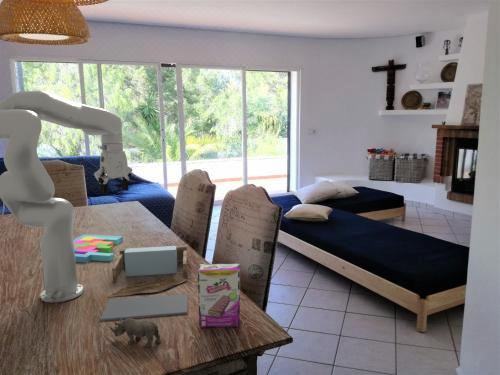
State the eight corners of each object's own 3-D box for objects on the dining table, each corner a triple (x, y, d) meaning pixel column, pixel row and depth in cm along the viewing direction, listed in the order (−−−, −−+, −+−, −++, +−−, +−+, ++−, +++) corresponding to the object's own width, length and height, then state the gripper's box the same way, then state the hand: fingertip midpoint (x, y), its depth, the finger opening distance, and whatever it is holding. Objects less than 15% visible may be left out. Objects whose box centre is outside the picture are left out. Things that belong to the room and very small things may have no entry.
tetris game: (43, 260, 160) (106, 265, 155) (42, 254, 160) (105, 258, 154) (85, 240, 187) (140, 243, 182) (84, 234, 187) (139, 237, 181)
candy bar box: (199, 328, 106) (196, 270, 103) (200, 319, 111) (198, 263, 108) (241, 327, 106) (239, 269, 104) (240, 318, 111) (239, 262, 109)
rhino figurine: (116, 333, 105) (114, 312, 104) (163, 340, 101) (162, 318, 100) (106, 341, 101) (104, 319, 100) (155, 349, 97) (154, 326, 96)
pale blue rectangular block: (177, 273, 145) (175, 249, 143) (125, 276, 142) (124, 252, 141) (177, 268, 149) (176, 245, 147) (128, 271, 147) (126, 248, 145)
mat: (187, 313, 114) (187, 311, 114) (100, 320, 111) (100, 318, 111) (187, 295, 126) (187, 293, 126) (109, 301, 123) (108, 299, 123)
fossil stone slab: (182, 276, 142) (182, 273, 142) (190, 288, 132) (190, 285, 132) (106, 290, 132) (106, 287, 132) (109, 303, 122) (109, 300, 122)
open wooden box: (186, 277, 141) (186, 261, 140) (112, 282, 137) (111, 265, 136) (187, 260, 157) (186, 245, 156) (121, 264, 154) (120, 249, 153)
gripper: (99, 149, 142) (103, 196, 145) (136, 146, 157) (139, 189, 160) (86, 149, 146) (90, 195, 149) (123, 146, 161) (126, 188, 164)
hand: (115, 192), depth 154 cm, fingers open, 9 cm apart
